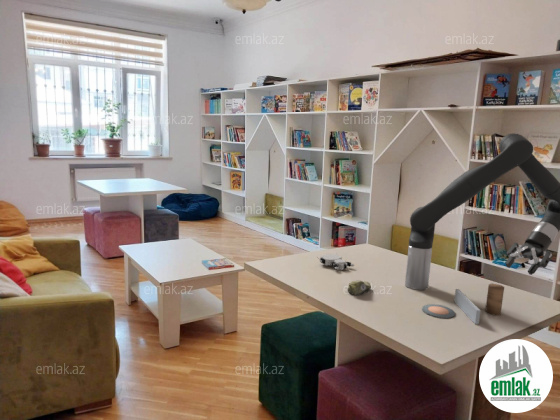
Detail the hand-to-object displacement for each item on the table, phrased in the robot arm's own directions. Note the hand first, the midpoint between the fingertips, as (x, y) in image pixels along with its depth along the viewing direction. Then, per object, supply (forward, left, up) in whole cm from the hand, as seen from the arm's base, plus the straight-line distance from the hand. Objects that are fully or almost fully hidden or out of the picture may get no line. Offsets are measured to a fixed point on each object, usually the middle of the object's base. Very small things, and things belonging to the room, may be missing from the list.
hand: (518, 269), depth 156 cm
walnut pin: (+6, -10, -15) cm, 18 cm away
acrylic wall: (+7, -20, -15) cm, 25 cm away
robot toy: (-40, -63, -15) cm, 76 cm away
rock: (-9, -56, -15) cm, 58 cm away
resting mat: (+8, -30, -15) cm, 34 cm away
